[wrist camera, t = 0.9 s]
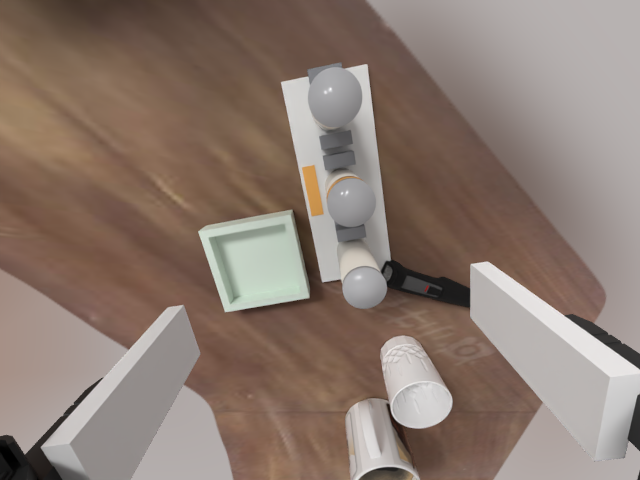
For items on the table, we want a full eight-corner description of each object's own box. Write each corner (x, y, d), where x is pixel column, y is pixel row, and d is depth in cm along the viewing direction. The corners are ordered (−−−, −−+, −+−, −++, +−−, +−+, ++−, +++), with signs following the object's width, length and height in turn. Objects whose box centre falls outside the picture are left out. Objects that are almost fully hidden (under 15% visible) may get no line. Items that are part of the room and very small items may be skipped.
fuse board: (281, 82, 35) (277, 75, 31) (366, 64, 34) (371, 55, 31) (322, 280, 43) (322, 293, 40) (390, 268, 43) (397, 280, 39)
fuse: (333, 238, 40) (339, 273, 30) (366, 232, 40) (384, 265, 29) (339, 268, 42) (346, 311, 31) (371, 262, 41) (389, 304, 31)
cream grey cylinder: (307, 93, 35) (302, 73, 24) (345, 85, 34) (358, 61, 24) (314, 134, 36) (313, 131, 25) (351, 126, 36) (365, 121, 25)
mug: (333, 431, 53) (337, 504, 42) (357, 380, 49) (367, 445, 39) (387, 444, 54) (404, 518, 43) (415, 395, 50) (441, 463, 40)
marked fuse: (321, 171, 37) (323, 184, 27) (357, 164, 37) (372, 174, 27) (327, 206, 39) (331, 231, 28) (362, 199, 39) (378, 222, 28)
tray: (206, 225, 40) (198, 231, 38) (292, 209, 40) (290, 214, 37) (230, 301, 44) (225, 312, 42) (309, 288, 44) (309, 297, 41)
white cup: (432, 362, 48) (460, 417, 39) (386, 378, 49) (402, 436, 40) (416, 324, 46) (442, 373, 36) (368, 342, 47) (381, 394, 37)
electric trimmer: (468, 307, 45) (480, 320, 42) (375, 279, 42) (382, 291, 39) (480, 286, 44) (493, 297, 41) (386, 256, 41) (393, 266, 38)
